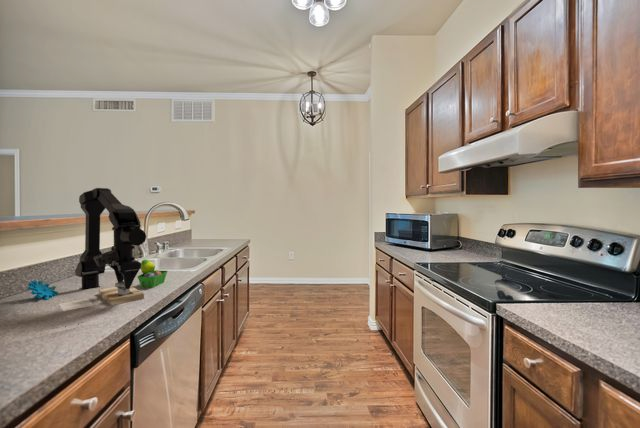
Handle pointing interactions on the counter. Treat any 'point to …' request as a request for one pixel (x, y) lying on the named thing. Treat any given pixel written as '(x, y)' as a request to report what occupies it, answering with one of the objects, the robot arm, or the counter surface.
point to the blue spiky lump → (42, 290)
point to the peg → (122, 289)
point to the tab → (75, 304)
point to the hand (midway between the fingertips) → (123, 286)
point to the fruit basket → (150, 275)
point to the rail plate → (113, 298)
